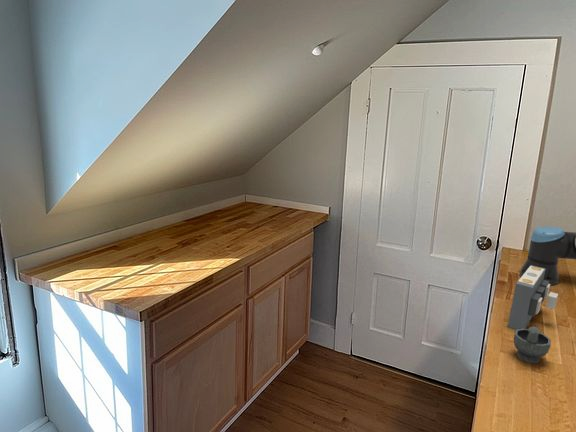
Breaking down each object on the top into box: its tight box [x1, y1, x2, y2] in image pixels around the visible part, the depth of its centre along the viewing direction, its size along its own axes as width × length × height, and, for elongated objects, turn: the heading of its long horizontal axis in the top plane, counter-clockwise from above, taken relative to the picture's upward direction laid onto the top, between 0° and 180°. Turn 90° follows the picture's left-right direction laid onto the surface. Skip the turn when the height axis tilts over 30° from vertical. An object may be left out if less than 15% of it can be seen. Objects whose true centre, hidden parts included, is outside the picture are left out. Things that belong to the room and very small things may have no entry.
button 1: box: [535, 297, 543, 315], centre depth 145 cm, size 4×2×4 cm, turn 141°
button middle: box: [545, 291, 559, 311], centre depth 149 cm, size 4×2×4 cm, turn 141°
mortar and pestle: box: [513, 326, 552, 364], centre depth 128 cm, size 11×9×12 cm
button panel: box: [507, 265, 549, 330], centre depth 153 cm, size 24×7×16 cm, turn 141°
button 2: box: [544, 284, 551, 300], centre depth 157 cm, size 4×2×4 cm, turn 141°
